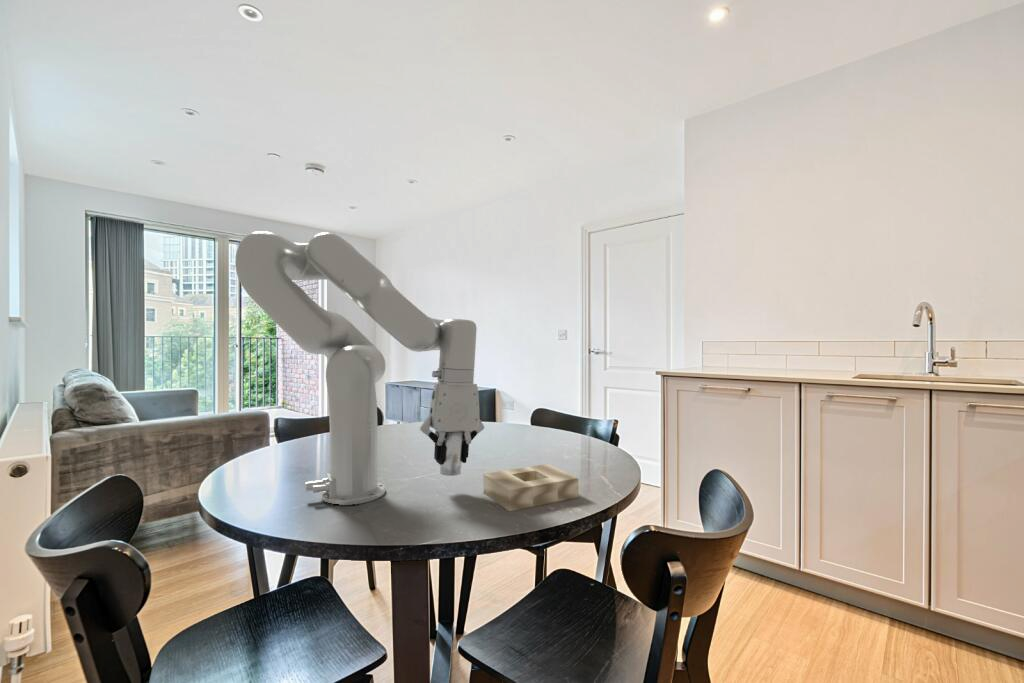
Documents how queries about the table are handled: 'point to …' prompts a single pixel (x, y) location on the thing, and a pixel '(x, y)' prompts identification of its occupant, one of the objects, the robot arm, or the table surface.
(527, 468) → the jig
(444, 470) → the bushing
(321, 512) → the table surface
